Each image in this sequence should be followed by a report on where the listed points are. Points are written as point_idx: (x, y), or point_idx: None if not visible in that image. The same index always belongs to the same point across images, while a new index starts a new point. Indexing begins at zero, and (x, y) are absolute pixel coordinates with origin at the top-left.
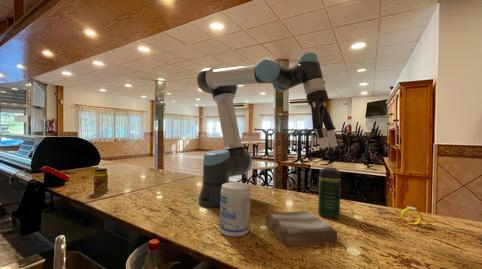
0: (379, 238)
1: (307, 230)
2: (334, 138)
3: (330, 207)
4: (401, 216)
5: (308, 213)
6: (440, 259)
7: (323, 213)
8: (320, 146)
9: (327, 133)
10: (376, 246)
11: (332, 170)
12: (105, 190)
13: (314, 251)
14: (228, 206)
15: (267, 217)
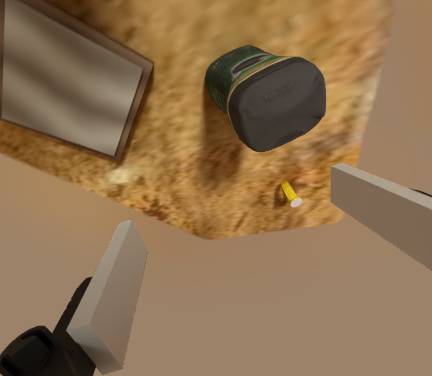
0: (192, 180)
1: (54, 134)
2: (367, 221)
3: (215, 101)
4: (285, 184)
5: (130, 85)
6: (190, 226)
7: (206, 81)
8: (117, 230)
9: (423, 212)
10: (162, 187)
11: (250, 141)
12: None
13: (56, 147)
14: None
15: None
